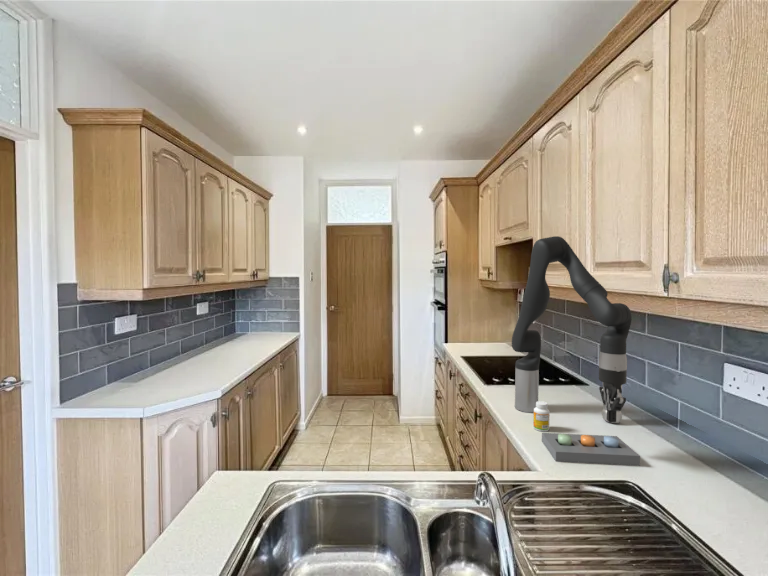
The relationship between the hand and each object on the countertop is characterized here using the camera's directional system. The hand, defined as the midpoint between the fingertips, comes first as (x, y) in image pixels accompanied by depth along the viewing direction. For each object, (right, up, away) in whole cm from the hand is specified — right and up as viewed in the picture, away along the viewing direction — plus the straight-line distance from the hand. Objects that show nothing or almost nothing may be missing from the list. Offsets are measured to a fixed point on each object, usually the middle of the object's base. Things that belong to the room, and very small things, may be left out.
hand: (611, 421), depth 121 cm
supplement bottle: (-14, -10, +20) cm, 26 cm away
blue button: (0, -8, +1) cm, 8 cm away
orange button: (-7, -8, +1) cm, 10 cm away
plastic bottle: (+16, -10, +27) cm, 33 cm away
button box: (-7, -11, +1) cm, 13 cm away
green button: (-14, -8, +2) cm, 16 cm away
